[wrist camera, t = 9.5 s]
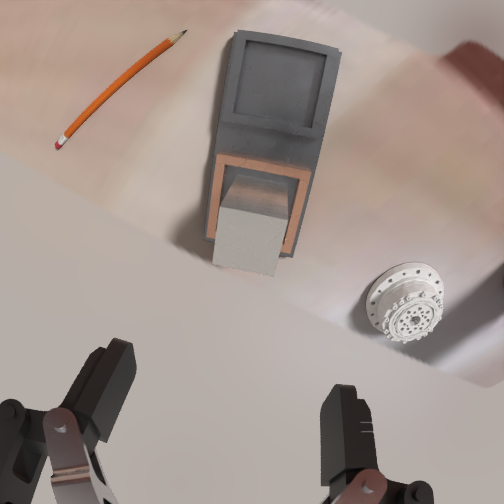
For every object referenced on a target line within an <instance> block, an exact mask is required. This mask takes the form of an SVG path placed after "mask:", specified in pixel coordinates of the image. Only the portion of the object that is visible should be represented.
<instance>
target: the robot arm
mask: <svg viewBox="0 0 504 504" xmlns="http://www.w3.org/2000/svg"><path fill="white" fill-rule="evenodd" d="M135 375H136V360H135V355H134V349H133V344H132V343H130V342H127V341H124V340H120V339H117V338H113V339H112V341H111V342H110V344H109V345H108V347H107V349H105V348H103V347H99V348H98V349H96V350H95V351H94V352H92V353H91V354H90V355H89V357H88V359H87V360H86V362H85V364H84V366H83V367H82V369H81V371H80V373H79V374H78V376H77V378H76V379H75V381H74V383H73V384H72V386H71V388H70V390H69V392H68V393H67V395H66V397H65V399H64V401H63V402H62V404H61V405H60V406H59V407H57V408H53V409H51V410H49V411H38V410H32V409H26V408H24V407H23V405H22V404H21V403H20V402H19V401H17V400H15V399H7V400H5V401H3V402H2V403H1V404H0V504H31V501H32V498H33V495H34V492H35V489H36V486H37V483H38V481H39V478H40V475H41V472H42V469H43V467H44V464H45V461H46V459H47V456H49V457H50V461H51V465H52V469H53V475H52V476H51V485H52V488H53V492H54V495H55V498H56V501H57V504H118V502H117V499H116V498H115V496H114V494H113V492H112V491H111V489H110V487H109V485H108V482H107V480H106V477H105V474H104V472H103V469H102V466H101V463H100V460H99V458H98V455H97V451H96V448H95V447H96V445H97V442H98V440H100V441H103V442H105V443H107V441H108V438H109V436H110V434H111V431H112V429H113V426H114V424H115V422H116V419H117V417H118V415H119V412H120V410H121V408H122V405H123V403H124V401H125V399H126V396H127V394H128V392H129V390H130V387H131V385H132V383H133V381H134V378H135ZM320 429H321V430H320V431H321V486H330V493H329V494H328V495H327V496H326V497H325V498H324V499H323V500H322V502H321V503H320V504H434V497H433V491H432V488H431V486H430V485H429V484H428V483H426V482H424V481H415V482H413V483H411V484H409V485H408V484H404V483H399V482H395V481H391V480H389V479H387V478H385V476H384V475H383V474H382V473H381V472H380V471H379V469H378V465H377V457H376V448H375V441H374V433H373V425H372V418H371V411H370V409H369V407H368V405H367V404H366V402H365V400H364V399H357V391H356V388H355V386H353V385H341V384H336V385H335V386H334V387H333V389H332V390H331V392H330V394H329V395H328V396H327V398H326V400H325V401H324V403H323V405H322V408H321V412H320Z"/></svg>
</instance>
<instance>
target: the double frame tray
mask: <svg viewBox="0 0 504 504" xmlns="http://www.w3.org/2000/svg"><path fill="white" fill-rule="evenodd" d="M338 50H339V49H338V48H334V47H330V46H326V45H322V44H318V43H314V42H309V41H305V40H300V39H295V38H290V37H285V36H279V35H273V34H267V33H260V32H253V31H245V30H238V32H234V36H233V41H232V46H231V51H230V57H229V62H228V68H227V73H226V79H225V85H224V91H223V97H222V103H221V109H220V116H219V122H218V129H217V136H216V142H215V149H214V157H213V164H212V171H211V179H210V187H209V195H208V203H207V212H206V221H205V230H204V240H205V241H211V242H215V238H216V230H217V223H218V215H219V208H220V205H221V203H222V201H223V200H224V198H225V196H226V194H227V192H228V190H229V188H230V187H231V185H232V183H233V181H234V179H235V178H236V176H237V174H239V175H244V176H249V177H255V178H260V179H265V180H270V181H275V182H279V183H284V184H287V196H288V223H287V227H286V231H285V235H284V239H283V243H282V247H281V250H280V254H279V255H281V256H286V257H291V258H293V254H294V250H295V247H296V243H297V240H298V236H299V232H300V228H301V225H302V221H303V217H304V213H305V210H306V206H307V202H308V198H309V194H310V190H311V186H312V182H313V178H314V174H315V170H316V166H317V162H318V158H319V154H320V150H321V145H322V141H323V137H324V133H325V128H326V124H327V119H328V115H329V111H330V106H331V102H332V97H333V92H334V88H335V83H336V78H337V74H338V69H339V64H340V59H341V54H342V52H339V51H338Z"/></svg>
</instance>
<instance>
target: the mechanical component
mask: <svg viewBox="0 0 504 504" xmlns="http://www.w3.org/2000/svg"><path fill="white" fill-rule="evenodd" d="M443 297H444V285H443V282H442V280H441V278H440V276H439V275H438V273H437V272H436V271H435V270H434V269H433V268H432V267H430V266H428V265H426V264H423V263H414V262H411V263H405V264H401V265H399V266H396V267H394V268H392V269H390V270H388V271H387V272H386V273H384V274H383V275H382V276H381V277H379V278H378V279H377V281H376V282H375V283H374V284H373V286H372V287H371V289H370V291H369V293H368V295H367V299H366V311H367V315H368V319H369V320H370V322H371V324H372V326H373V327H375V328H376V329H378V330H379V331H380V332H384V334H385V335H386V337H387V338H390V339H391V341H399V342H401V341H402V342H403V343H404V344H405V343H407V341H412V340H414V339H417V340H420V339H421V337H422V336H424V337H425V336H427V333H428V332H432V331H433V328H434V327H435V325H436V324H437V323H438V321H440V320H441V319H442V317H441V315H442V311H443V307H444V306H443V302H442V300H443Z"/></svg>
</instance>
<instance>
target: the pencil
mask: <svg viewBox="0 0 504 504" xmlns="http://www.w3.org/2000/svg"><path fill="white" fill-rule="evenodd" d="M186 31H187V30H186ZM186 31H183V32H181V33H179V34H176V35H174V36H172V37H170V38H168V39H166V40H165V41H163V42H162V43H161V44H159V45H158V46H157V47H155V48H154V49H153V50H152V51H150V52H149V53H148V54H146V55H145V56H144V57H143V58H141V59H140V60H139V61H138V62H137V63H135V64H134V65H133V66H132V67H131V68H129V69H128V70H127V71H126V72H125V73H124V74H122V75H121V76H120V77H119V78H118V79H117V80H116V81H115V82H114V83H112V84H111V85H110V86H109V87H108V88H107V89H106V90H105V91H104V92H103V93H102V94H101V95H100V96H99V97H98V98H97V99H96V100H95V101H94V102H93V103H92V104H91V105H90V106H89V107H88V108H87V109H86V110H85V111H84V112H83V113H82V114H81V115H80V116H79V117H78V118H77V119H76V120H75V121H74V122H73V124H72V125H71V126H70V127H69V128H68V129H67V130H66V131H65V133H64V134H63V135H62V136H61V137H60V138H59V140H58V141H57V142H56V143H55V147H56V148H58V149H60V148H61V147H62V145H63V144H64V143H65V142H66V141H67V140H68V139H69V138H70V136H71V135H72V134H73V133H74V132H75V131H76V130H77V129H78V128H79V127H80V126H81V125H82V124H83V122H84V121H85V120H86V119H87V118H88V117H89V116H90V115H91V114H92V113H93V112H94V111H95V110H96V109H97V108H98V107H99V106H100V105H101V104H102V103H104V102H105V101H106V100H107V99H108V98H109V97H110V96H111V95H112V94H113V93H114V92H115V91H116V90H118V89H119V88H120V87H121V86H122V85H123V84H124V83H125V82H127V81H128V80H129V79H130V78H131V77H132V76H134V75H135V74H136V73H137V72H138V71H140V70H141V69H142V68H143V67H145V66H146V65H147V64H148V63H150V62H151V61H152V60H153V59H155V58H156V57H157V56H159V55H160V54H161V53H163V52H164V51H165V50H167V49H168V48H169V47H171V46H172V45H174V43H175V42H176V41H177V40H178V39H179V38H180V37H181V36H182V35H183V34H184V33H185V32H186Z"/></svg>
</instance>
